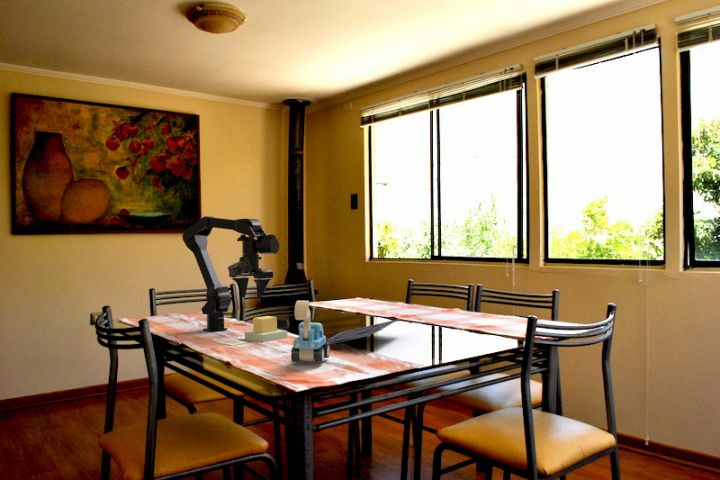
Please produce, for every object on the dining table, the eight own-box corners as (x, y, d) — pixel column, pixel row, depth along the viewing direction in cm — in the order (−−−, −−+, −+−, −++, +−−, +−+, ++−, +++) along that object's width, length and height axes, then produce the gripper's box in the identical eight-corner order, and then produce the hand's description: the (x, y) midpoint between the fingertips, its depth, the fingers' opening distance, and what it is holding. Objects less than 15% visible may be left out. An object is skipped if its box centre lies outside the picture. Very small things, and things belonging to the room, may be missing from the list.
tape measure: (287, 328, 195) (287, 317, 196) (268, 330, 195) (268, 319, 196) (290, 329, 201) (289, 319, 202) (272, 330, 202) (271, 320, 202)
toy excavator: (282, 369, 138) (281, 301, 138) (301, 355, 154) (300, 294, 154) (315, 370, 136) (314, 301, 136) (330, 356, 152) (330, 295, 152)
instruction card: (217, 342, 175) (217, 341, 175) (233, 340, 180) (233, 339, 180) (231, 345, 170) (231, 344, 170) (247, 342, 174) (247, 341, 174)
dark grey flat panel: (303, 359, 167) (301, 347, 167) (341, 339, 195) (339, 329, 195) (375, 343, 159) (372, 331, 159) (404, 326, 187) (402, 315, 187)
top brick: (253, 331, 182) (253, 317, 182) (268, 329, 186) (267, 315, 186) (262, 333, 179) (262, 319, 179) (277, 330, 183) (276, 317, 183)
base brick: (244, 340, 182) (244, 331, 182) (268, 336, 189) (268, 327, 189) (263, 344, 175) (263, 334, 175) (287, 339, 183) (287, 330, 183)
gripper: (216, 254, 193) (216, 298, 193) (247, 254, 180) (248, 301, 180) (242, 253, 201) (242, 295, 201) (274, 253, 189) (274, 298, 189)
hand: (251, 298), depth 193 cm, fingers open, 9 cm apart
